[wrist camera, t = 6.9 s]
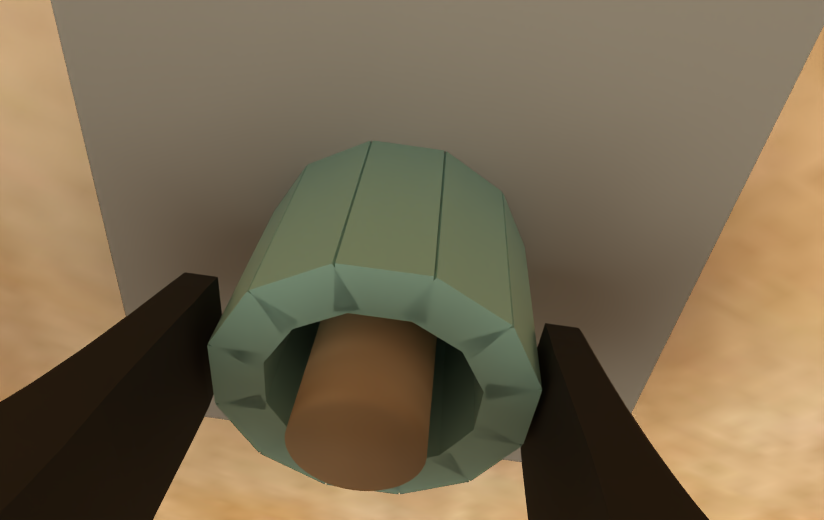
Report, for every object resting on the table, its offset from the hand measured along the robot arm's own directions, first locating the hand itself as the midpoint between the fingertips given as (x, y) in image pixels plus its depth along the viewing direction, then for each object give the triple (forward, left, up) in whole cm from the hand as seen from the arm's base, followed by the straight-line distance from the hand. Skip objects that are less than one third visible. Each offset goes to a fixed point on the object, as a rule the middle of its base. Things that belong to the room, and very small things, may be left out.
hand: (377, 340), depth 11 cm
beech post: (0, 0, -3) cm, 3 cm away
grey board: (0, 0, -4) cm, 4 cm away
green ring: (0, 0, -3) cm, 3 cm away
